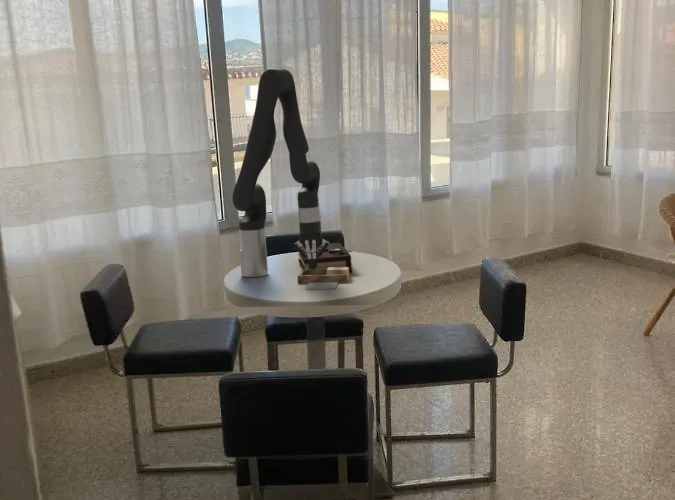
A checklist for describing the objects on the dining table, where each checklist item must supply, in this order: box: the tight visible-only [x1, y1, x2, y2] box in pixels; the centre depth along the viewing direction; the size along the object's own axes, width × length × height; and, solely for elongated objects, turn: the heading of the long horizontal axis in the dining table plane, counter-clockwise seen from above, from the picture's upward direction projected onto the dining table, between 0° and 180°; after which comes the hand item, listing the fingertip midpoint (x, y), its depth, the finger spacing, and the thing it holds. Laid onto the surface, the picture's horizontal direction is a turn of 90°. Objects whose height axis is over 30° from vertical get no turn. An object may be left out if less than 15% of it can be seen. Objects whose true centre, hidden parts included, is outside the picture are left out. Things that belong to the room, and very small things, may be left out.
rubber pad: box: [305, 282, 339, 291], centre depth 239 cm, size 10×8×1 cm
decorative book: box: [296, 242, 353, 274], centre depth 267 cm, size 19×8×30 cm
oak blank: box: [327, 267, 350, 281], centre depth 247 cm, size 7×4×4 cm, turn 78°
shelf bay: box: [297, 269, 348, 284], centre depth 248 cm, size 17×9×2 cm, turn 84°
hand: (313, 268), depth 248 cm, fingers closed
